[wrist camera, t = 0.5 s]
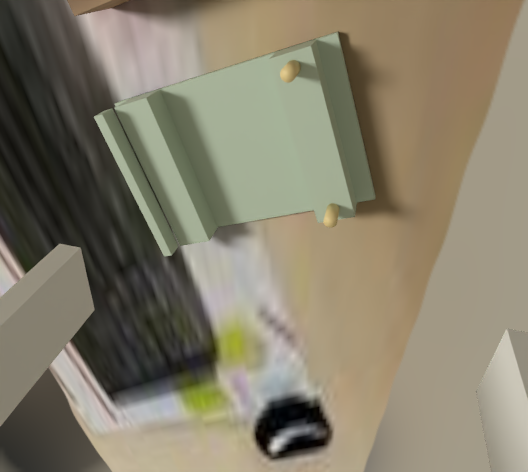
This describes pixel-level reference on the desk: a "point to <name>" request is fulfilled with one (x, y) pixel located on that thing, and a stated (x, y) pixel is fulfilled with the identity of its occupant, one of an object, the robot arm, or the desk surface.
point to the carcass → (244, 144)
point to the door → (92, 5)
